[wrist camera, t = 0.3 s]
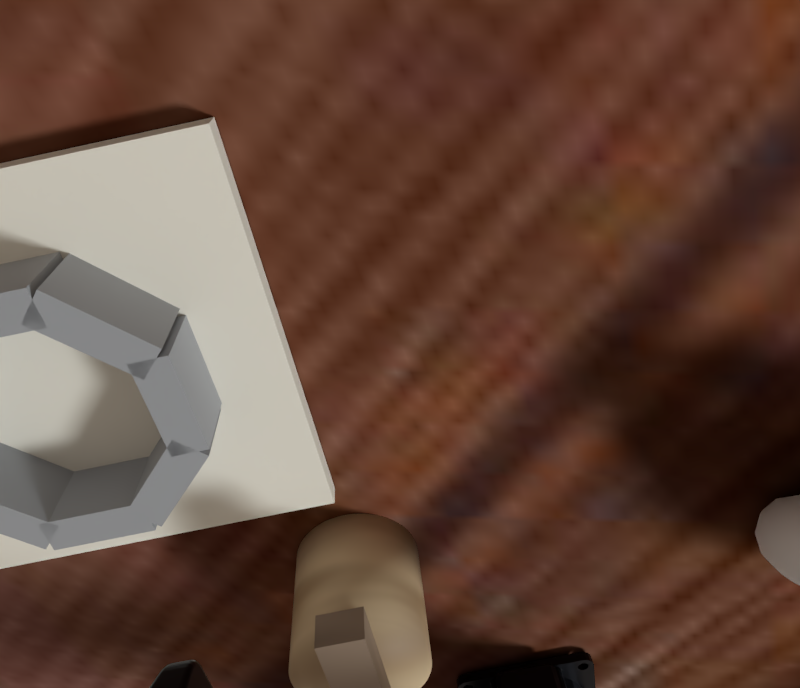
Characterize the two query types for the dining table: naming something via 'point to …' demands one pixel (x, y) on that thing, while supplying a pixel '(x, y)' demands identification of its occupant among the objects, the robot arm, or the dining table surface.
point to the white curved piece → (781, 536)
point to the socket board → (189, 264)
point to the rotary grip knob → (359, 607)
